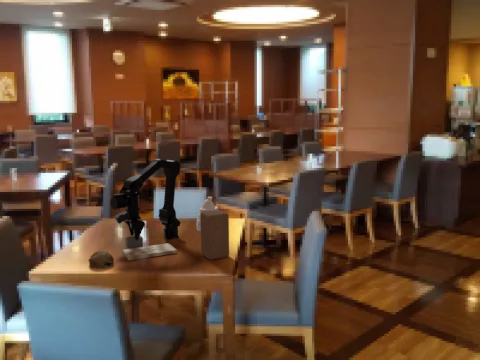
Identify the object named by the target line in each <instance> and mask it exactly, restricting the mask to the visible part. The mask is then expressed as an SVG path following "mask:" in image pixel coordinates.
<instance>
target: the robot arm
mask: <svg viewBox="0 0 480 360" xmlns="http://www.w3.org/2000/svg"><path fill="white" fill-rule="evenodd" d="M160 169H163V173H164V176H165V188H164V199H163V207H162V208H159V209H158V217H159V218H158V219H159V221H160V222H161V225H162V226H164V228H163V237H164V238H165V239H166V240H173V239H179V238H180V236H179V227H180V226H181V223H182V222H181V221H180V219H178V218H177V211H176V209H175V207H174V206H175V205H174V204H175V203H174V202H175V195H176V194H175V192H176V184H177V183H176V182H177V177H179V175H180V171H181V163H180V161H179V160H171V159H166V160H164V159H162V158H155V159H154V160H153V161H152V162H151V163H149V164H148V165H147V166H146V167H144V169H142V170H141V171H140V172H138V174H136V175H133V176H130V177H128V178H127V179H125V180H124V181H123V185H122V187H121V189H120V190H119V193H115V194H112V197H111V198H110V201H109V204H110V206H111V208H112V209H113V210H118V209H119V210H120V209H124V210H125V211H122V212H119V213H117V214H116V215H114V219H115V221H116V223H117V224H118V225H119V224H121V223H123V222H124V223H125V224H126V225H127V227H128V230H129V233H130V237H132V236H135V240H138V239H139V237H140V236H141V234H142V232H143V229H144V228H145V227H146V222H145V221H144V220H142V219H141V218H142V217H141V216H140V211H141V207H140V201H139V200H140V199H139V197H140V196H143V193H142V192H141V191H140V190H141V189H142V187H143V186H144V183H145V182H146V181H147V180H148V179H149V178H150V177H152V176H153V175H154V174H155V173H157V172H158V171H159V170H160Z"/></svg>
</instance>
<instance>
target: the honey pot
mask: <svg viewBox="0 0 480 360" xmlns="http://www.w3.org/2000/svg"><path fill="white" fill-rule="evenodd" d="M200 206H201V207H198V209H199V211H198V214H197V219H196V230H197V231H198V232H200V233H201V217H200V213H201V212H204V211H212V210H219V209H218V206H216V205H215V204H214V202H213V196H207V198H206V199H205V200H204V201H203V202H202V204H201V205H200Z"/></svg>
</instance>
